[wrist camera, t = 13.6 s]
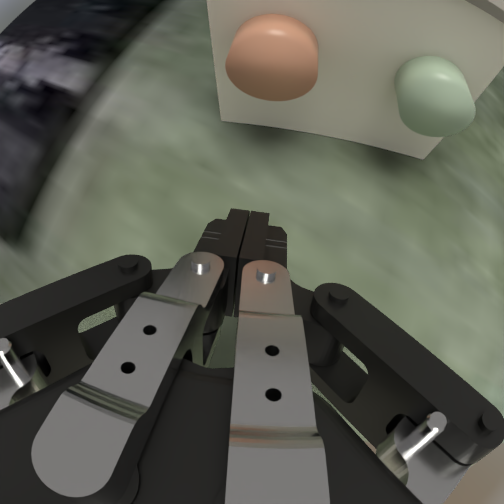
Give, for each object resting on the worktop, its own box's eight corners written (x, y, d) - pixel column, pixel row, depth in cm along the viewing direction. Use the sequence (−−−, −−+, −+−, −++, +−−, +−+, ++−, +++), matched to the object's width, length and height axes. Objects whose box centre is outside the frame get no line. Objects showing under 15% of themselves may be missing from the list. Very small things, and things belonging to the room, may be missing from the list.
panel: (215, 122, 24) (187, -68, 8) (225, 86, 25) (211, -83, 9) (427, 163, 23) (537, 35, 7) (422, 125, 24) (508, 0, 8)
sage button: (387, 124, 17) (418, 71, 12) (375, 47, 19) (393, 1, 14) (451, 144, 16) (489, 103, 12) (429, 65, 19) (453, 25, 14)
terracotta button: (227, 96, 17) (222, 33, 12) (249, 25, 19) (249, -26, 14) (310, 107, 17) (325, 45, 12) (313, 33, 19) (323, -17, 14)
